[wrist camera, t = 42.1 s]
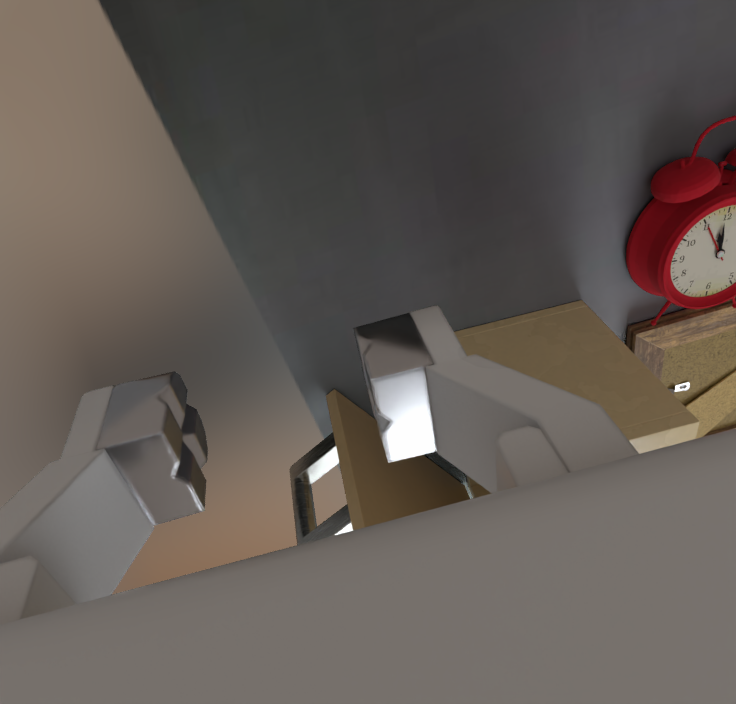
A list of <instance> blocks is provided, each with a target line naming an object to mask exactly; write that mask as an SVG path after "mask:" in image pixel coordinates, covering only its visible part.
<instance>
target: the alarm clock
mask: <svg viewBox="0 0 736 704" xmlns="http://www.w3.org/2000/svg"><path fill="white" fill-rule="evenodd" d="M733 120H736V116H732V117H729V118H725V119H722V120H720V121H718V122H716V123H714V124H712V125H711V126H710V127H708V128H707V129H706V130H705V131H704V132H703V133H702V134H701V135H700V137H699V139H698V141H697V142H696V144H695V147H694V150H693V153H692V156H691V157H685V158H682V159H678V160H675V161H673V162H671V163H669V164H667V165H665V166H664V167H662V168H661V169H660V170H658V171H657V172H656V173H655V175H654V177H653V178H652V180H651V193H652V194H653V196H654V197H655V198H654V199H653V200H652V201H651V202H650V203H649V204H648V205H647V206H646V208H645V209H644V210H643V212H642V213H641V215H640V216H639V218H638V220H637V221H636V223H635V225H634V227H633V229H632V232H631V234H630V237H629V241H628V245H627V251H626V262H627V267H628V271H629V273H630V275H631V278H632V279H633V280H634V282H635V283H636V284H637V285H638V286H639V287H641V288H642V289H643V290H645V291H646V292H648V293H651V294H653V295H657V296H664V297H665V298H666V299H667V300H668V301H667V302H666V304H665V305H664V306H663V308H662V309H661V310H660V312H659V314H658V315H657V316H656V318H655V319H654V320H652V321H651V322H650V323H651V324H652V325H656V324H657V323H656V321H657V320H658V319H659V317H660V316H661V315H662V314H663V313H664V312H665V311H666V309H667V308H668V307H669V305H670V304H671V303H673V304H675V305H678V306H681V307H684V308H689V309H704V308H709V307H713V306H716V305H719V304H722V303H724V302H726V301H728V300H730V299H732V301H733V304H732V307H733V308H736V301H735V296H736V169H735V171H734V172H733V171H730V170H727V169H723V167H724V166H726V165H727V163H729V164H731V165H733V166H735V167H736V148H735V149H733V150H732V151H730V153H729V154H728V155H727V157H726V159H725V161H723V162H719V163H718V166H719V167H720V168H718V166H717V165H716V164H715V163H714V162H713V161H711V160H710V159H707V158H704V157H695V156H696V153H697V150H698V148H699V145H700V143H701V141H702V140H703V138H704V137H705V135H706V134H707V133H708V132H709V131H710V130H712V129H713V128H715V127H717V126H718V125H720V124H723V123H725V122H728V121H733Z"/></svg>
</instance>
